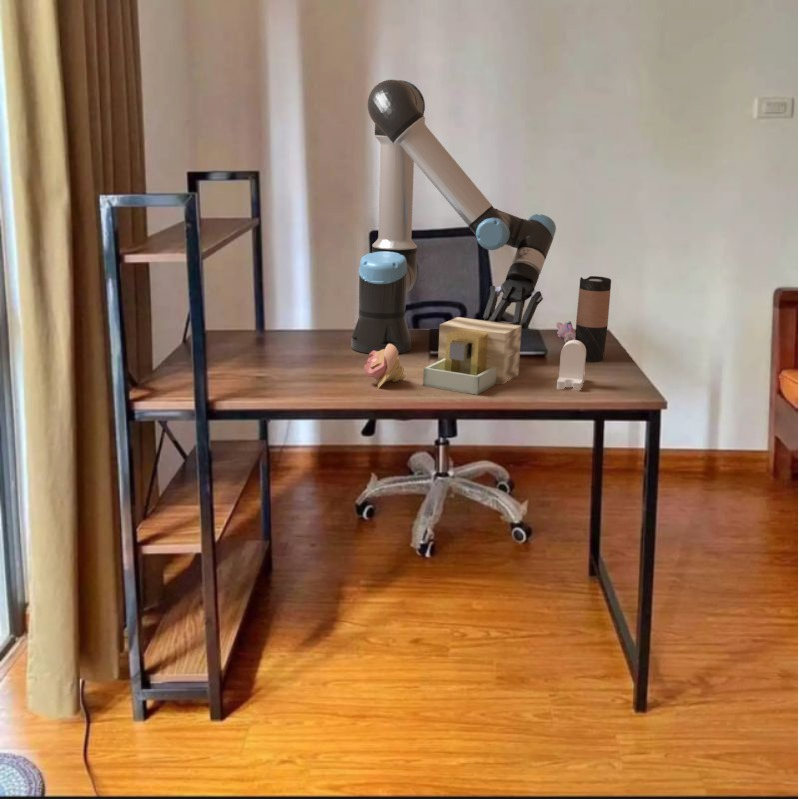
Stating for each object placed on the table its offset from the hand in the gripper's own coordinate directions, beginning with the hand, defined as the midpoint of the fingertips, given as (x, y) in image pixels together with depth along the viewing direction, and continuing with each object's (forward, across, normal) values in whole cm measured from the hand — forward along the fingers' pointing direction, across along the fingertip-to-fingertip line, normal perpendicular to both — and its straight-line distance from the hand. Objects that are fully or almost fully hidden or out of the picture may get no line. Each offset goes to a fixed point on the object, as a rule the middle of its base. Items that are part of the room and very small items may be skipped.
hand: (495, 348), depth 242 cm
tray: (+17, 0, -11) cm, 20 cm away
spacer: (+14, 0, -10) cm, 17 cm away
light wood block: (+10, 0, -4) cm, 11 cm away
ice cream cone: (+23, -15, -17) cm, 32 cm away
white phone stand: (+7, +21, -1) cm, 22 cm away
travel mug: (-11, +17, +18) cm, 27 cm away
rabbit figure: (-23, +5, +29) cm, 38 cm away
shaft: (+4, 0, -7) cm, 9 cm away
